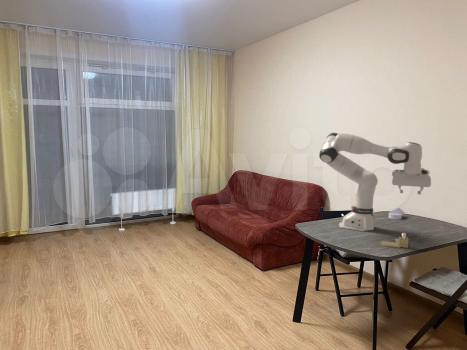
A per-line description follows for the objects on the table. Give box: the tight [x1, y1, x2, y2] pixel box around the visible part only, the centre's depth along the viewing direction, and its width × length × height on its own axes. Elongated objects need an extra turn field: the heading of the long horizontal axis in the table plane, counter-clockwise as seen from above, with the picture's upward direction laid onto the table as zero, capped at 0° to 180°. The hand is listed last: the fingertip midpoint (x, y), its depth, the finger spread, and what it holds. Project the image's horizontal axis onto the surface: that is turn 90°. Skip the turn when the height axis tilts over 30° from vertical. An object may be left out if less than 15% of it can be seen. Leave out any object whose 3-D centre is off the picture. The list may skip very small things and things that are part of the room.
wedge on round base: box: [388, 207, 406, 220], centre depth 265 cm, size 9×7×13 cm
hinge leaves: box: [381, 236, 409, 249], centre depth 203 cm, size 14×14×5 cm
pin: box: [401, 232, 407, 239], centre depth 197 cm, size 2×2×8 cm
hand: (410, 193), depth 203 cm, fingers open, 8 cm apart
